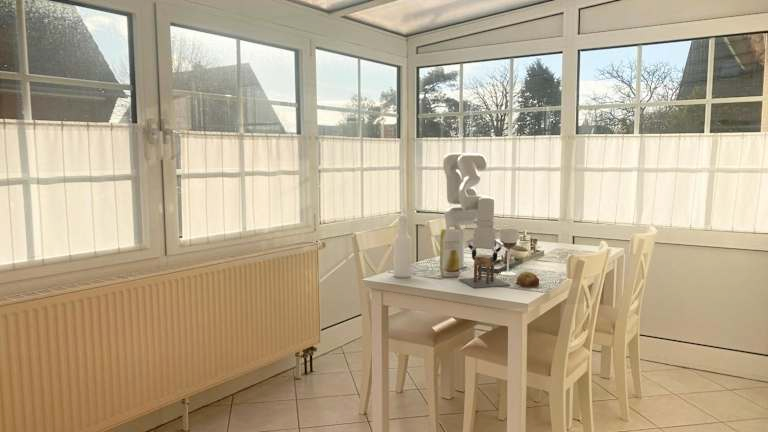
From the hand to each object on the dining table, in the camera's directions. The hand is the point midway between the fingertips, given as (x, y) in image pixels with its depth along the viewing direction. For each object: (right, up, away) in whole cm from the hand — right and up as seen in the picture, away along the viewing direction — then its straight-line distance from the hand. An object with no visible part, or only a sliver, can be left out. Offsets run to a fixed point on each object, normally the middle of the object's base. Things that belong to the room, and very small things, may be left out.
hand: (484, 260), depth 262 cm
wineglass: (+16, -9, +22) cm, 29 cm away
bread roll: (+20, -12, -2) cm, 23 cm away
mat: (0, -11, +1) cm, 11 cm away
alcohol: (-37, -9, +15) cm, 41 cm away
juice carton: (-14, -9, +17) cm, 24 cm away
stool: (0, -10, +1) cm, 10 cm away
